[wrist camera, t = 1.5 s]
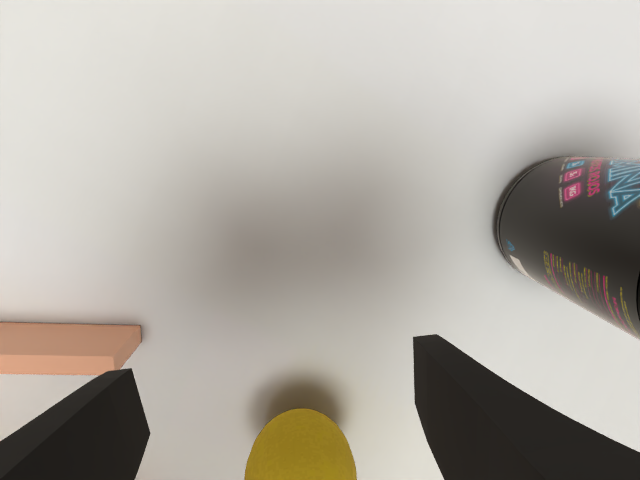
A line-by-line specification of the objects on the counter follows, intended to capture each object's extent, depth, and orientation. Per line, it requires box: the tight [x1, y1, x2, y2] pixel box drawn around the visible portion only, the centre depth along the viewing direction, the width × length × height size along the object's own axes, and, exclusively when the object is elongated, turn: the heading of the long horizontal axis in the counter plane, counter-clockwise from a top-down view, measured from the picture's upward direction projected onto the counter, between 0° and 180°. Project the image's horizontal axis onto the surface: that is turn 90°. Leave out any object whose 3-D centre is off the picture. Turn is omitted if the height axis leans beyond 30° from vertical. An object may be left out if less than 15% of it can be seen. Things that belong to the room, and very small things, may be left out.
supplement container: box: [497, 156, 640, 340], centre depth 15 cm, size 7×7×10 cm
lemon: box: [245, 408, 357, 480], centre depth 18 cm, size 6×6×8 cm
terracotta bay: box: [0, 322, 141, 375], centre depth 19 cm, size 12×11×3 cm
